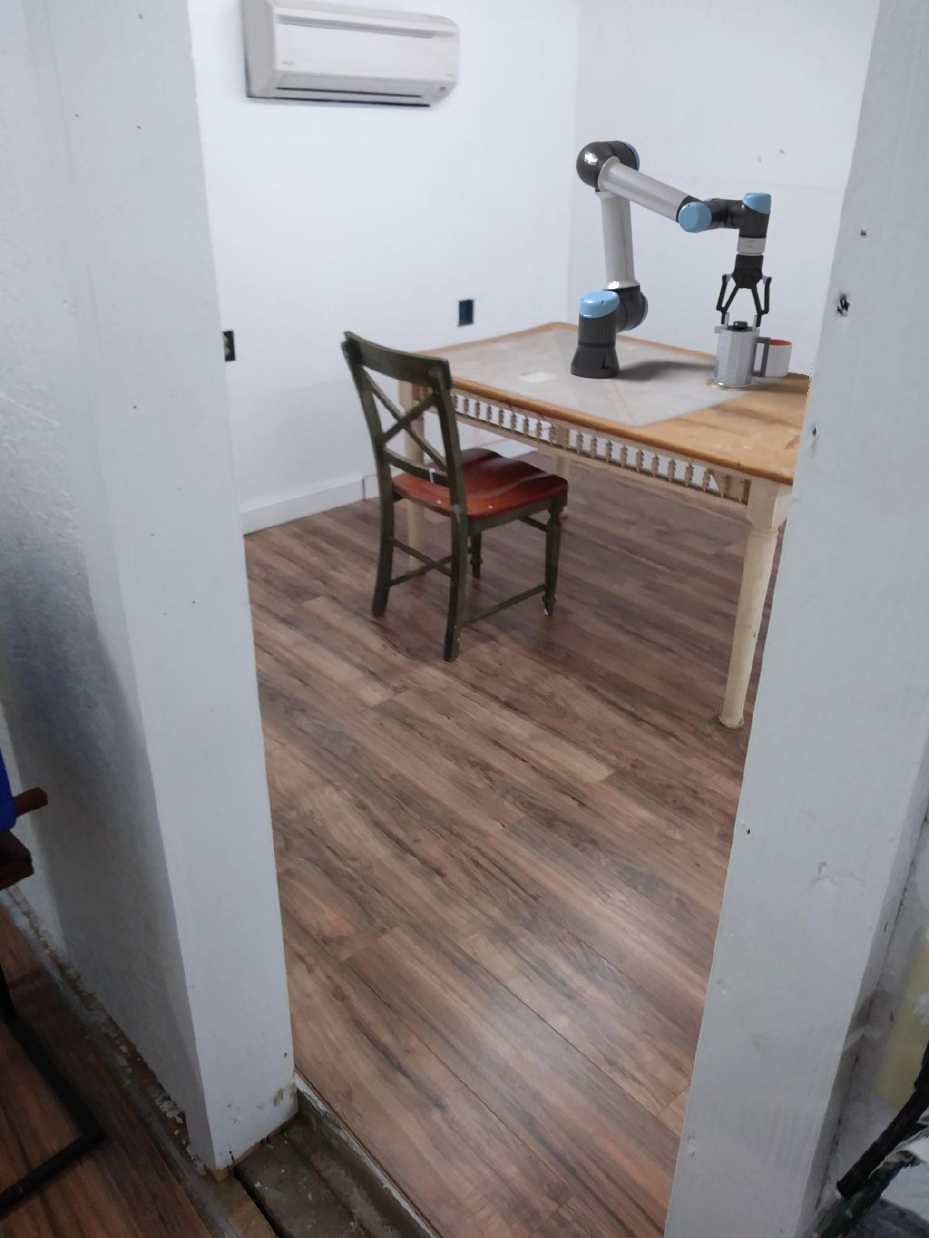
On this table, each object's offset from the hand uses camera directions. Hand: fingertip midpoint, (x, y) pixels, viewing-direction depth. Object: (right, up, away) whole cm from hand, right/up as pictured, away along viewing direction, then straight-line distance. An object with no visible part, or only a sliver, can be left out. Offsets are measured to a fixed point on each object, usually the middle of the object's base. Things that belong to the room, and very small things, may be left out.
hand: (738, 337), depth 277 cm
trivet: (0, -12, +7) cm, 14 cm away
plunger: (0, -6, +3) cm, 6 cm away
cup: (+15, -6, +18) cm, 25 cm away
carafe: (0, -12, +6) cm, 14 cm away
